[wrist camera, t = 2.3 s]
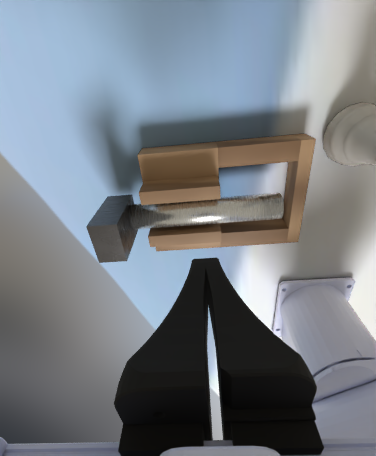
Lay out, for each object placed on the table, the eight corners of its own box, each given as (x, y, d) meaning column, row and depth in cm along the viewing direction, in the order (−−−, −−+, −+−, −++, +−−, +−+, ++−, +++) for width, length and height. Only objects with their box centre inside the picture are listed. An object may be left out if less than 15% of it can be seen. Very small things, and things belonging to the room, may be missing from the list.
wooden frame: (290, 230, 24) (307, 257, 20) (159, 239, 25) (153, 266, 21) (304, 133, 19) (330, 146, 16) (142, 148, 20) (131, 163, 17)
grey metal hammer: (274, 216, 21) (293, 250, 17) (116, 228, 21) (99, 262, 17) (277, 182, 19) (300, 210, 15) (107, 196, 20) (86, 226, 16)
